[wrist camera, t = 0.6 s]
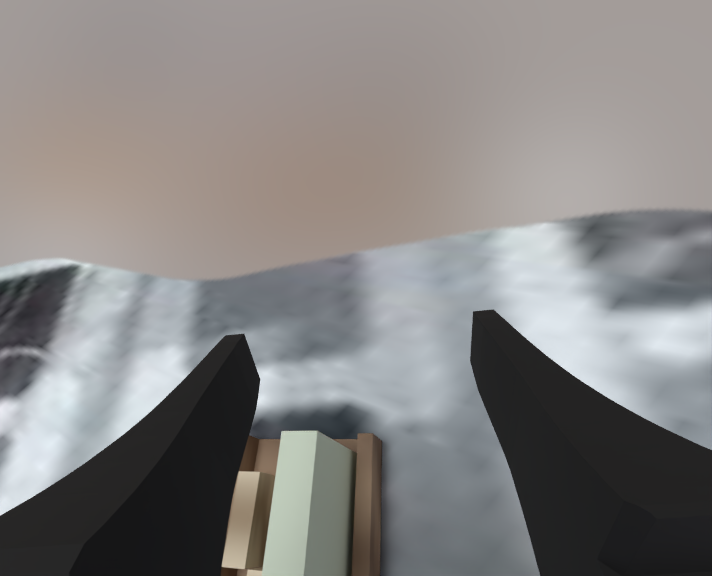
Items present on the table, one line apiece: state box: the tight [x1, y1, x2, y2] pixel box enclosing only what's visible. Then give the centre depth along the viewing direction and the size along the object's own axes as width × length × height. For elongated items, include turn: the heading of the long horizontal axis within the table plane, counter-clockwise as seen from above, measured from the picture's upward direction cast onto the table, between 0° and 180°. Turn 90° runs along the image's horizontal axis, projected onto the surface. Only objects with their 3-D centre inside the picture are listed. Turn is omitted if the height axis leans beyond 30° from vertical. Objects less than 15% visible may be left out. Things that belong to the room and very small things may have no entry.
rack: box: [221, 433, 382, 576], centre depth 25 cm, size 14×16×3 cm
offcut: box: [222, 471, 275, 569], centre depth 25 cm, size 5×2×3 cm, turn 177°
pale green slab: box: [262, 431, 357, 576], centre depth 20 cm, size 12×2×8 cm, turn 177°
